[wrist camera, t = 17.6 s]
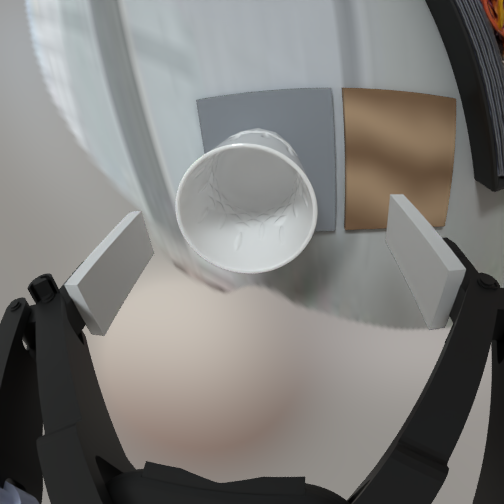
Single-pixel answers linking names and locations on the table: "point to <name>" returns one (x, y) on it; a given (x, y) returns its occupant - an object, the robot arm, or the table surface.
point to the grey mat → (282, 132)
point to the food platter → (478, 77)
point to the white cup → (247, 203)
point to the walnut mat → (397, 154)
